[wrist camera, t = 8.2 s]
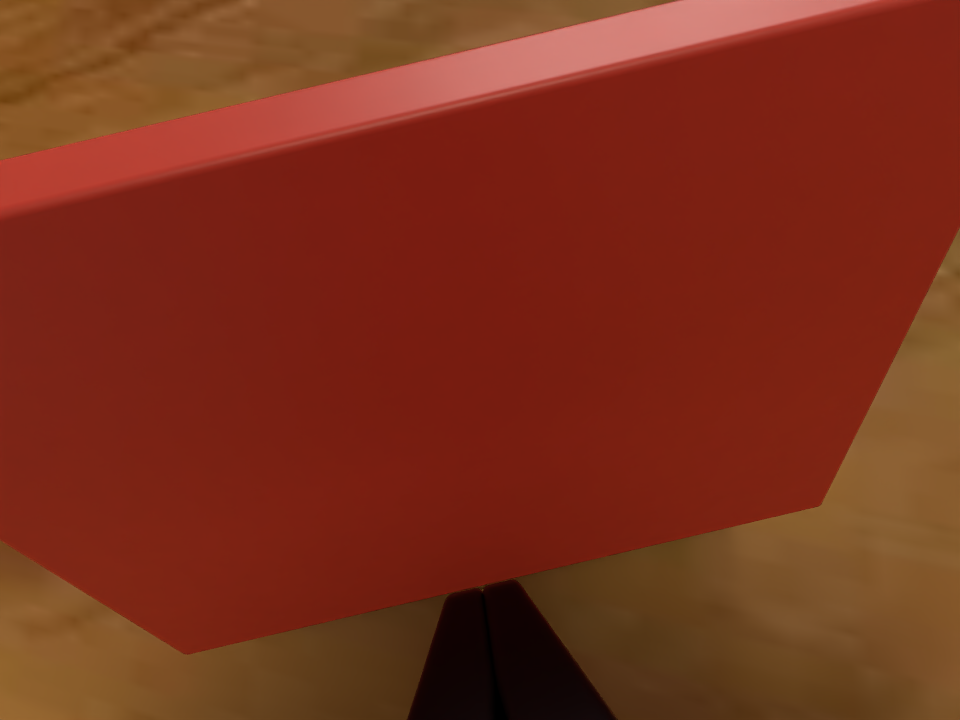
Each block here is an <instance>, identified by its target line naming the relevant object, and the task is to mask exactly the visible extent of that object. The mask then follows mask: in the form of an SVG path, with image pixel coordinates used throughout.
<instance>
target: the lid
mask: <svg viewBox="0 0 960 720" xmlns="http://www.w3.org/2000/svg"><path fill="white" fill-rule="evenodd" d="M959 228H960V0H677V1H673V2H669V3H665V4H660V5H656V6H652V7H648V8H644V9H639V10H635V11H631V12H627V13H622V14H618V15H614V16H610V17H605V18H601V19H597V20H593V21H589V22H584V23H580V24H576V25H572V26H567V27H563V28H559V29H555V30H550V31H546V32H542V33H538V34H534V35H529V36H525V37H521V38H517V39H512V40H508V41H504V42H500V43H495V44H491V45H487V46H483V47H479V48H474V49H470V50H466V51H462V52H457V53H453V54H449V55H445V56H440V57H436V58H432V59H428V60H424V61H419V62H415V63H411V64H407V65H402V66H398V67H394V68H390V69H385V70H381V71H377V72H373V73H369V74H364V75H360V76H356V77H352V78H347V79H343V80H339V81H335V82H330V83H326V84H322V85H318V86H314V87H309V88H305V89H301V90H297V91H292V92H288V93H284V94H280V95H275V96H271V97H267V98H263V99H259V100H254V101H250V102H246V103H242V104H237V105H233V106H229V107H225V108H220V109H216V110H212V111H208V112H204V113H199V114H195V115H191V116H187V117H182V118H178V119H174V120H170V121H165V122H161V123H157V124H153V125H149V126H144V127H140V128H136V129H132V130H127V131H123V132H119V133H115V134H110V135H106V136H102V137H98V138H94V139H89V140H85V141H81V142H77V143H72V144H68V145H64V146H60V147H55V148H51V149H47V150H43V151H39V152H34V153H30V154H26V155H22V156H17V157H13V158H9V159H5V160H0V541H2V542H4V543H5V544H7V545H8V546H10V547H12V548H13V549H15V550H17V551H18V552H20V553H21V554H23V555H25V556H26V557H28V558H29V559H31V560H33V561H34V562H36V563H38V564H39V565H41V566H42V567H44V568H46V569H47V570H49V571H50V572H52V573H54V574H55V575H57V576H59V577H60V578H62V579H63V580H65V581H67V582H68V583H70V584H72V585H73V586H75V587H76V588H78V589H80V590H81V591H83V592H84V593H86V594H88V595H89V596H91V597H93V598H94V599H96V600H97V601H99V602H101V603H102V604H104V605H106V606H107V607H109V608H110V609H112V610H114V611H115V612H117V613H118V614H120V615H122V616H123V617H125V618H127V619H128V620H130V621H131V622H133V623H135V624H136V625H138V626H140V627H141V628H143V629H144V630H146V631H148V632H149V633H151V634H152V635H154V636H156V637H157V638H159V639H161V640H162V641H164V642H165V643H167V644H169V645H170V646H172V647H173V648H175V649H177V650H178V651H180V652H182V653H183V654H187V655H188V654H192V653H196V652H201V651H205V650H209V649H213V648H218V647H222V646H226V645H230V644H235V643H239V642H243V641H247V640H252V639H256V638H260V637H264V636H269V635H273V634H277V633H281V632H286V631H290V630H294V629H299V628H303V627H307V626H311V625H316V624H320V623H324V622H328V621H333V620H337V619H341V618H345V617H350V616H354V615H358V614H362V613H367V612H371V611H375V610H379V609H384V608H388V607H392V606H396V605H401V604H405V603H409V602H414V601H418V600H422V599H426V598H431V597H435V596H439V595H443V594H448V593H452V592H456V591H460V590H465V589H469V588H473V587H477V586H482V585H486V584H490V583H494V582H499V581H503V580H507V579H511V578H516V577H520V576H524V575H529V574H533V573H537V572H541V571H546V570H550V569H554V568H558V567H563V566H567V565H571V564H575V563H580V562H584V561H588V560H592V559H597V558H601V557H605V556H609V555H614V554H618V553H622V552H626V551H631V550H635V549H639V548H643V547H648V546H652V545H656V544H661V543H665V542H669V541H673V540H678V539H682V538H686V537H690V536H695V535H699V534H703V533H707V532H712V531H716V530H720V529H724V528H729V527H733V526H737V525H741V524H746V523H750V522H754V521H758V520H763V519H767V518H771V517H776V516H780V515H784V514H788V513H793V512H797V511H801V510H805V509H810V508H814V507H818V506H820V505H821V504H822V502H823V500H824V498H825V496H826V494H827V492H828V490H829V488H830V486H831V484H832V482H833V480H834V478H835V476H836V474H837V472H838V470H839V468H840V466H841V464H842V462H843V460H844V458H845V456H846V454H847V452H848V450H849V448H850V446H851V444H852V442H853V440H854V438H855V436H856V434H857V432H858V430H859V428H860V426H861V424H862V422H863V420H864V418H865V416H866V414H867V412H868V410H869V408H870V406H871V404H872V402H873V400H874V398H875V396H876V394H877V392H878V390H879V388H880V386H881V384H882V382H883V380H884V378H885V376H886V374H887V372H888V370H889V368H890V366H891V364H892V362H893V360H894V358H895V356H896V354H897V352H898V350H899V348H900V346H901V344H902V342H903V340H904V338H905V336H906V334H907V332H908V330H909V328H910V326H911V324H912V322H913V320H914V318H915V316H916V314H917V312H918V310H919V308H920V306H921V304H922V302H923V300H924V298H925V296H926V294H927V292H928V290H929V288H930V286H931V284H932V282H933V280H934V278H935V276H936V274H937V272H938V270H939V268H940V266H941V264H942V262H943V260H944V258H945V256H946V254H947V252H948V250H949V248H950V246H951V244H952V242H953V240H954V238H955V236H956V234H957V232H958V230H959Z"/></svg>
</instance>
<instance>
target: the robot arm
mask: <svg viewBox="0 0 960 720" xmlns="http://www.w3.org/2000/svg"><path fill="white" fill-rule="evenodd" d="M407 720H618V719H617V718H616V717H615V715H614V714H613V712H612V711H611V710H610V708H609V707H608V705H607V704H606V703H605V701H604V700H603V699H602V697H601V696H600V694H599V693H598V692H597V690H596V689H595V687H594V686H593V685H592V683H591V682H590V680H589V679H588V678H587V676H586V675H585V674H584V672H583V671H582V669H581V668H580V667H579V665H578V664H577V662H576V661H575V660H574V658H573V657H572V655H571V654H570V653H569V651H568V650H567V648H566V647H565V646H564V644H563V643H562V642H561V640H560V639H559V637H558V636H557V635H556V633H555V632H554V630H553V629H552V628H551V626H550V625H549V623H548V622H547V621H546V619H545V618H544V617H543V615H542V614H541V612H540V611H539V610H538V608H537V607H536V605H535V604H534V603H533V601H532V600H531V598H530V597H529V596H528V594H527V593H526V591H525V590H524V589H523V587H522V586H521V585H520V583H519V582H517V581H516V580H508V581H504V582H499V583H495V584H491V585H488V586H486V587H485V588H484V590H483V592H482V591H481V589H478V588H474V589H470V590H465V591H461V592H457V593H453V594H450V595H449V596H448V597H447V599H446V600H445V603H444V606H443V609H442V612H441V615H440V618H439V621H438V624H437V628H436V631H435V634H434V637H433V640H432V643H431V646H430V650H429V653H428V656H427V659H426V662H425V665H424V668H423V672H422V675H421V678H420V681H419V684H418V687H417V690H416V693H415V697H414V700H413V703H412V706H411V709H410V712H409V715H408V719H407Z"/></svg>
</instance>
